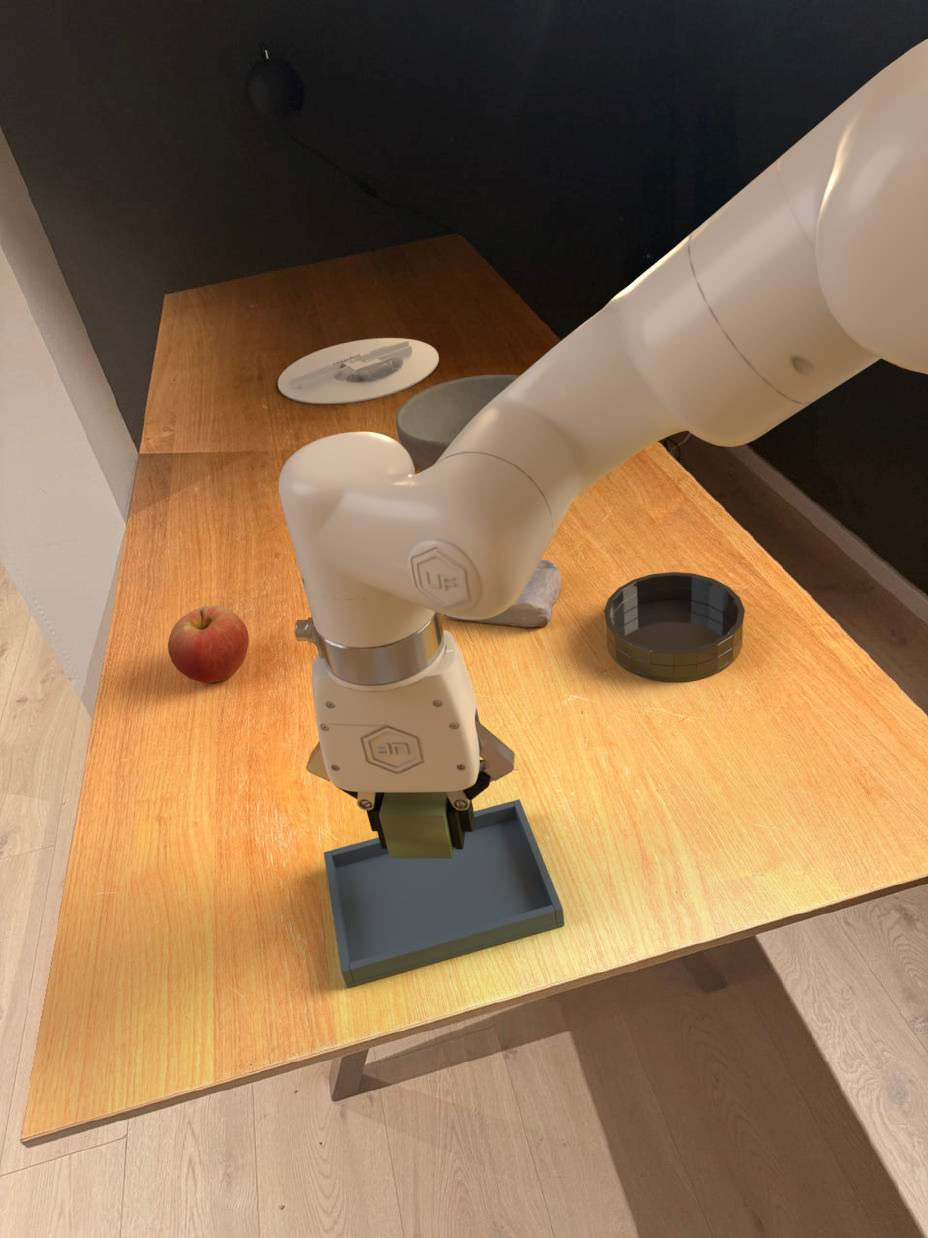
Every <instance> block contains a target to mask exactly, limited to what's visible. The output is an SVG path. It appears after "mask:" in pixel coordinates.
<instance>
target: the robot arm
mask: <svg viewBox="0 0 928 1238" xmlns="http://www.w3.org/2000/svg"><path fill="white" fill-rule="evenodd" d="M881 359H882V360H884V361H886V362H888V363H890V364H892V365H894V366H897V367H899V368H901V369H905V370H908V371H912V372H916V373H920V374H924V375H928V38H927V39H925V40H923V41H921V42H920V43H918V44H916V45H915V46H912V47H911V48H910V49H909V50H907V51H906V52H904V54H902V55H900V56H899V57H898V58H897V59H895V60H894V61H892V62H891V63H890V64H889V65H887V66H885V67H884V68H883V69H881V71H879V72H878V73H877V74H876V75H875V76H873V77H872V78H870V79H869V80H868V81H867V82H866V83H865V84H864V85H862V86H861V87H860V88H859V89H858V90H856V91H855V92H854V93H853V94H852V95H851V96H850V97H848V98H847V99H846V100H845V101H843V103H841V104H840V105H839V106H838V107H837V108H835V109H834V110H833V111H832V112H831V113H830V114H828V116H826V117H825V118H824V119H823V120H822V121H821V122H819V123H818V124H817V125H816V126H815V127H814V128H812V129H810V131H809V132H807V133H806V134H805V135H804V136H803V137H802V138H800V139H799V140H798V141H797V142H795V143H794V144H793V145H792V146H791V147H790V148H789V149H788V150H786V151H785V152H784V153H783V154H781V156H780V157H779V158H777V159H776V160H775V161H774V162H773V163H771V164H770V165H769V166H768V167H767V168H766V169H764V170H763V171H762V172H761V173H760V174H759V175H757V177H755V178H754V179H753V180H751V181H750V182H749V183H748V184H747V185H746V186H744V188H742V189H741V190H740V191H738V193H737V194H735V195H734V196H733V197H732V198H731V199H730V200H728V201H727V202H726V203H725V204H724V205H722V206H721V207H720V208H719V209H718V210H717V211H716V212H714V213H713V214H712V215H711V216H710V217H708V219H706V220H705V221H704V222H702V223H701V225H699V226H698V227H697V228H696V229H694V230H693V231H692V232H691V233H689V234H688V235H686V237H685V238H684V239H683V240H681V241H680V242H678V244H677V245H676V246H675V247H674V248H672V249H671V250H670V251H669V252H668V253H666V254H665V255H664V256H663V257H661V258H660V259H659V260H658V261H657V262H655V263H654V264H653V265H651V266H650V267H649V268H648V269H646V271H644V272H643V273H642V274H641V275H640V276H638V277H637V278H636V279H635V280H634V281H633V282H631V283H630V284H629V285H628V286H626V287H625V288H624V289H622V290H621V291H619V292H618V293H617V294H616V295H615V296H614V297H613V298H611V299H610V301H608V303H607V304H605V306H604V307H603V308H602V309H600V310H599V311H597V312H596V313H595V314H594V315H593V316H591V317H590V318H588V319H587V320H586V321H584V322H583V323H582V324H581V325H579V326H578V327H577V328H575V329H574V330H573V331H571V332H570V333H569V334H568V335H567V336H566V337H564V338H563V339H562V340H560V341H559V342H558V343H557V344H556V345H554V346H553V347H552V348H551V349H549V351H547V352H546V353H545V354H543V356H541V357H540V358H539V359H538V360H537V361H535V362H534V363H533V364H532V365H531V366H530V367H529V368H527V369H526V370H525V371H524V372H523V373H522V374H521V375H518V376H519V377H518V378H517V379H516V380H515V381H514V382H512V383H511V384H510V385H509V386H508V387H507V388H505V389H504V390H503V391H502V392H501V393H500V394H498V395H497V396H496V397H495V398H494V399H493V400H492V401H490V402H489V403H488V404H487V405H486V406H485V407H484V408H483V409H482V410H481V411H480V412H479V413H478V414H477V415H476V416H475V417H474V418H473V419H472V420H471V421H470V422H469V423H468V424H467V425H466V426H465V428H464V429H463V430H462V431H461V432H460V433H459V435H458V436H457V437H456V438H455V439H454V440H453V441H452V443H451V444H450V445H449V446H448V448H447V449H446V450H445V452H444V453H443V454H442V455H441V457H440V458H439V459H438V460H437V462H436V463H435V464H434V465H433V466H431V467H429V468H428V469H426V470H424V471H423V470H421V471H419V472H418V473H416V468H415V464H414V463H413V461H412V459H411V457H410V455H409V453H408V452H407V450H406V449H405V448H404V447H403V446H402V445H401V442H400V441H399V442H398V441H397V440H396V439H395V438H392V437H389V436H387V435H385V434H381V433H378V432H371V431H350V432H344V433H343V432H341V433H337V434H336V433H335V434H331V435H329V436H324V437H322V438H319V439H316V440H314V441H311V442H309V443H307V444H305V445H303V446H301V447H300V448H299V449H297V450H296V451H295V452H294V453H293V454H292V455H291V456H290V457H289V458H288V459H287V460H286V461H285V463H284V464H283V466H282V469H281V471H280V473H279V478H278V494H279V499H280V504H281V509H282V512H283V515H284V519H285V522H286V527H287V530H288V534H289V537H290V541H291V545H292V549H293V552H294V557H295V559H296V560H295V561H296V563H297V567H298V570H299V574H300V577H301V582H302V585H303V589H304V592H305V596H306V600H307V603H308V604H307V605H308V607H309V611H310V615H311V617H307V619H297V620H296V621H295V623H294V636H295V639H296V641H298V642H308V643H309V644H314V646H315V647H316V648H317V654H316V655H315V657H314V660H313V662H312V667H311V668H312V669H311V670H312V671H311V677H312V680H311V681H312V694H313V706H314V714H315V720H316V722H315V723H316V728H317V734H318V739H319V741H318V742H317V744H316V745H315V746H314V748H313V749H312V751H311V752H310V755H309V758H308V761H307V764H306V767H305V769H306V771H307V772H308V773H310V774H312V775H314V776H317V777H318V778H321V779H322V780H325V781H327V782H330V783H331V784H332V785H334V787H336V788H337V789H338V790H341V791H342V792H344V793H346V794H347V795H349V796H350V797H352V798H353V799H355V800H357V801H356V805H357V806H358V808H359V809H361V810H362V811H366V815H367V818H368V822H369V826H370V830H371V832H376V833H377V836H378V837H379V841H380V844H381V848H382V849H388V848H387V844H386V840H385V837H384V833H383V829H382V825H381V821H380V817H379V813H380V809H381V805H382V801H383V796H384V792H445V793H446V795H447V797H448V799H449V800H448V806H447V819H448V824H449V829H450V834H451V839H452V844H453V848H455V849H456V850H463V847H464V840H465V833H466V832H473V828H474V811H475V810H474V805H473V800H474V799H475V798H476V797H478V796H479V795H480V794H482V793H483V792H484V791H485V790H487V789H488V788H489V787H490V785H491V783H492V782H494V781H495V782H496V781H498V780H500V779H502V778H503V777H505V776H507V775H509V774H510V773H513V771H514V770H515V762H516V753H515V751H513V750H512V749H511V748H510V747H509V746H508V745H506V744H505V743H504V742H503V741H502V740H500V739H499V738H498V737H497V736H496V735H494V734H493V732H492V731H490V730H489V729H488V728H487V727H486V726H484V725H483V724H482V720H481V714H480V710H479V706H478V702H477V698H476V694H475V690H474V687H473V683H472V680H471V677H470V674H469V671H468V668H467V665H466V663H465V660H464V657H463V655H462V652H461V651H460V648H459V647H458V644H457V642H456V640H455V637H454V636H453V635H452V633H451V632H450V631H449V630H444V628H443V622H442V616H441V615H444V616H446V615H447V616H451V617H455V618H460V619H472V620H479V619H486V618H490V617H494V616H496V615H498V614H500V613H502V612H504V611H505V610H507V609H508V608H509V607H510V606H512V605H513V604H514V603H515V602H516V601H517V599H518V598H519V597H520V595H521V594H522V593H523V591H524V590H525V588H526V586H527V584H528V582H529V581H530V579H531V577H532V575H533V573H534V572H535V570H536V568H537V566H538V564H539V563H540V561H541V560H542V559H543V557H544V555H545V554H546V551H547V549H548V547H549V545H550V543H551V541H552V540H553V538H554V536H555V535H556V532H557V531H558V529H559V527H560V526H561V525H562V523H563V520H564V519H565V516H566V515H567V514H568V512H569V510H570V508H571V506H572V505H573V503H574V502H575V501H576V500H577V499H578V498H579V497H580V496H581V495H582V494H583V493H584V492H585V491H587V490H588V489H589V488H591V486H593V485H594V484H596V483H597V482H599V481H600V480H601V479H603V478H605V476H607V475H609V474H610V473H611V472H613V471H614V470H615V469H617V468H618V467H619V466H622V465H623V464H625V463H627V461H628V460H630V459H632V458H633V457H635V456H636V455H637V454H639V453H641V452H643V451H644V450H645V449H647V448H649V447H651V446H653V445H654V444H656V443H658V442H659V441H662V440H663V439H666V438H667V437H670V436H673V435H676V434H678V433H682V432H687V431H688V432H689V433H690V434H691V435H693V436H695V437H696V438H699V440H702V441H704V442H707V443H709V444H712V445H714V446H718V447H728V448H729V447H730V448H733V447H739V446H743V445H747V444H750V443H751V442H753V441H756V440H757V439H759V438H760V437H762V436H764V435H766V434H767V433H768V432H769V431H771V430H773V429H774V428H775V427H777V426H779V425H780V424H782V423H783V422H784V421H786V420H788V419H789V418H791V417H792V416H794V415H796V414H797V413H799V412H800V411H801V410H803V409H805V408H806V407H808V406H810V405H811V404H812V403H813V404H814V402H816V401H817V400H819V399H820V398H822V397H823V396H825V395H827V394H828V393H829V392H831V391H833V390H835V389H836V388H837V387H839V386H841V385H842V384H844V383H845V382H847V381H848V380H850V379H851V378H853V377H855V376H856V375H858V374H859V373H861V372H862V371H864V370H865V369H867V368H868V367H870V366H872V365H873V364H874V363H877V362H878V361H880V360H881ZM378 837H377V838H378Z"/></svg>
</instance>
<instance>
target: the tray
mask: <svg viewBox="0 0 928 1238" xmlns="http://www.w3.org/2000/svg"><path fill="white" fill-rule="evenodd" d="M323 859H324V865H325V871H326V878H327V885H328V891H329V899H330V904H331V910H332V918H333V924H334V931H335V939H336V945H337V951H338V952H337V953H338V957H339V958H338V959H339V965H340V972H341V975H342V978H343V981H344V983H345V987H346V988H347V989H350V988H354V987H357V986H359V985H364V984H367V983H371V982H374V981H378V980H381V979H384V978H388V977H391V976H394V975H399V974H402V973H405V972H409V971H412V970H415V969H419V968H423V967H426V966H429V965H430V966H431V965H433V964H436V963H439V962H443V961H446V960H451V959H454V958H457V957H461V956H464V955H467V954H470V953H474V952H478V951H481V950H485V949H488V948H491V947H495V946H498V945H502V944H505V943H506V944H507V943H510V942H514V941H515V940H519V939H523V938H527V937H530V936H533V935H537V934H540V933H545V932H547V931H550V930H554V929H558V928H560V927H561V928H562V927H564V926H565V915H564V908H563V905H562V903H561V901H560V898H559V895H558V892H557V890H556V887H555V885H554V882H553V879H552V878H551V875H550V871H549V869H548V867H547V865H546V862H545V860H544V858H543V855H542V852H541V850H540V847H539V844H538V842H537V839H536V837H535V834H534V832H533V829H532V827H531V824H530V822H529V819H528V816H527V815H526V812H525V809H524V807H523V804H522V801H521V799H519V798H518V799H515V800H513V801H512V800H511V801H507V802H504V803H503V802H502V803H500V804H496V805H493V806H488V807H485V808H482V809H478V810H474V828H473V832H466V833H465V840H464V847H463V850H456V849H455V848H454V850H453V857H452V859H434V858H390V856H389V852H388V849H382V848H381V844H380V841H379V837H375V838H371V839H367V840H363V841H360V842H356V843H352V844H349V845H345V846H342V847H337V848H333V849H331V850H326V851H323Z"/></svg>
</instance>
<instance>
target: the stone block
mask: <svg viewBox="0 0 928 1238" xmlns="http://www.w3.org/2000/svg"><path fill="white" fill-rule="evenodd" d="M562 586H563V584H562V577H561V572H560V569H559V567H558V566H557V565H556V563H554V562H553V561H551V560H548V559H544V560H542V559H541V561H540V563H539V564H538V566H537V568H536V570H535V572H534V573H533V575H532V577H531V579H530V581H529V582H528V584H527V586H526V588H525V590H524V591H523V593H522V594H521V595H520V597H519V598H518V599H517V601H516V602H515V603H514V604H513V605H512V606H510V607H509V608H508V609H507V610H505V611H504V612H502V613H500V614H498V615H496V616H494V617H490V618H486V619H479V620H472V619H460V618H455V617H451V616H447V615H445V617H446V618H447V619H450V620H453V621H461V622H471V623H477V624H490V625H498V626H512V627H517V628H535V627H536V628H537V627H538V628H540V627H541V628H542V627H543V628H544V627H546V626H547V625H548V623H549V622H550V621H551V620H552V613H553V611H552V609H553V605H554V604H555V603H556V602H557V600H558V598H559V596H560V594H561V591H562Z"/></svg>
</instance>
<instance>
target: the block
mask: <svg viewBox="0 0 928 1238" xmlns="http://www.w3.org/2000/svg"><path fill="white" fill-rule="evenodd" d="M448 800H449V799H448V797H447V795H446V793H445V792H384V796H383V801H382V805H381V809H380V813H379V817H380V821H381V825H382V829H383V833H384V837H385V840H386V844H387V848H388V852H389V856H390V858H434V859H452V857H453V850H454V848H453V844H452V839H451V834H450V829H449V824H448V819H447V806H448Z"/></svg>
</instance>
